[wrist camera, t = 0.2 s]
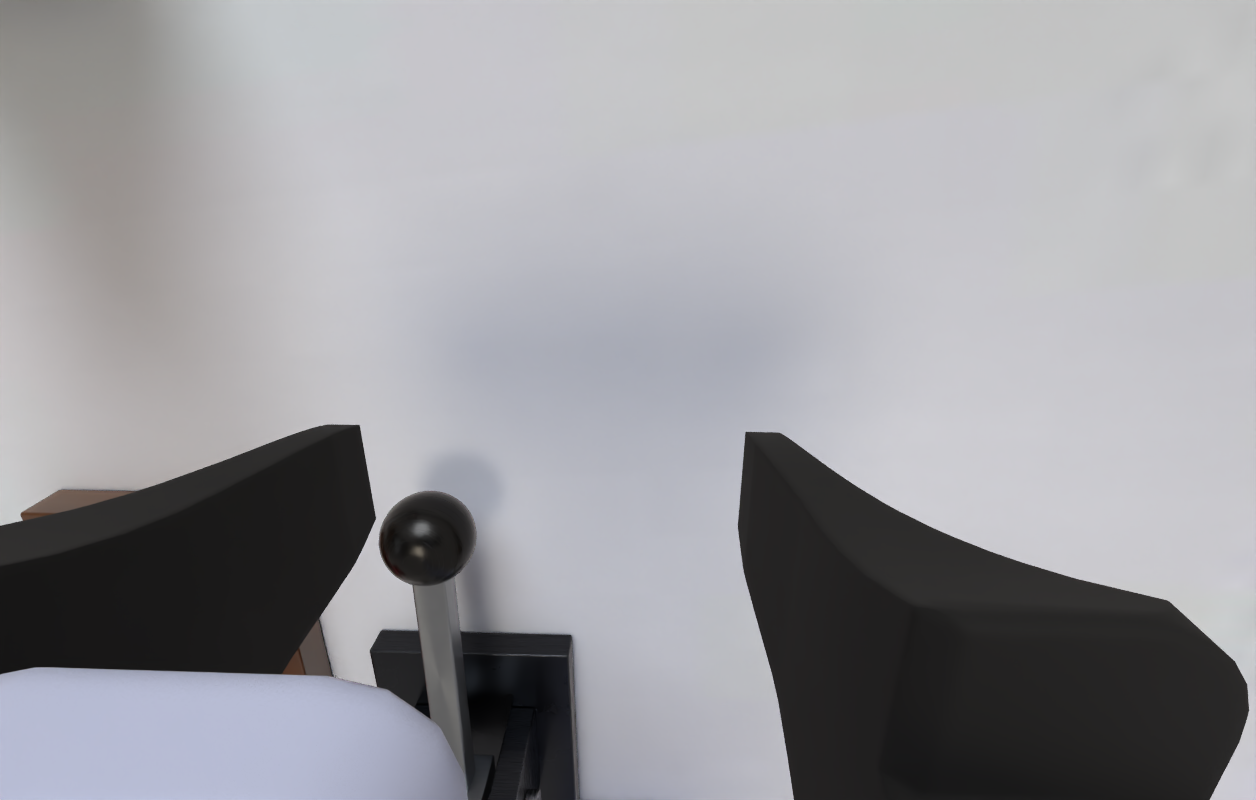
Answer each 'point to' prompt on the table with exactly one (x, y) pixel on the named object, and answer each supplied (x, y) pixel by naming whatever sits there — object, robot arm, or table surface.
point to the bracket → (503, 705)
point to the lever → (439, 612)
